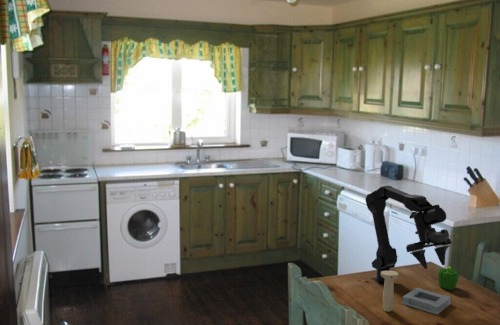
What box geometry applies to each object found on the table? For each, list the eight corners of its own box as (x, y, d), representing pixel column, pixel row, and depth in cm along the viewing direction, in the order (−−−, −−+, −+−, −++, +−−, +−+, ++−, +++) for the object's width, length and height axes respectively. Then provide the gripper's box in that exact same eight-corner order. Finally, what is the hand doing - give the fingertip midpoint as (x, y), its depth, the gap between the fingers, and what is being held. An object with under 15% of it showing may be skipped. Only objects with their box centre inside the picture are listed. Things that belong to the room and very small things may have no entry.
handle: (397, 313, 192) (400, 275, 189) (381, 313, 191) (383, 275, 189) (393, 307, 196) (395, 270, 194) (377, 307, 196) (379, 270, 194)
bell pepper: (438, 282, 222) (440, 260, 221) (458, 286, 218) (460, 264, 217) (435, 289, 215) (436, 266, 214) (455, 293, 211) (457, 270, 210)
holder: (402, 303, 200) (402, 296, 199) (416, 294, 209) (416, 287, 209) (437, 314, 190) (437, 307, 190) (450, 304, 200) (450, 296, 200)
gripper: (420, 225, 188) (432, 267, 184) (456, 220, 197) (468, 260, 193) (400, 231, 198) (411, 271, 194) (435, 226, 206) (446, 264, 202)
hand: (434, 266), depth 195 cm, fingers open, 9 cm apart
